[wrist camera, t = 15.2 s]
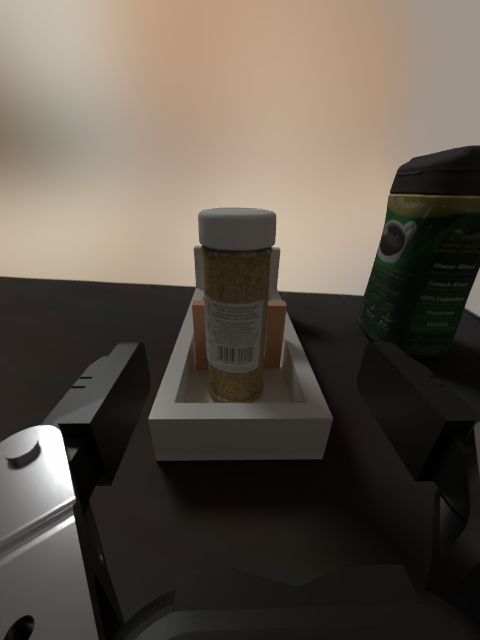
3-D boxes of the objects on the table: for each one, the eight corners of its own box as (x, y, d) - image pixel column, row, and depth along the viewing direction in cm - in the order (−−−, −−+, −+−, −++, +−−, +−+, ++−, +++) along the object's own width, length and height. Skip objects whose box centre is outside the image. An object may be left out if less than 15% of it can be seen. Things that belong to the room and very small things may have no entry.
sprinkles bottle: (268, 377, 22) (284, 208, 16) (253, 417, 18) (266, 214, 12) (220, 366, 24) (217, 205, 17) (196, 400, 20) (182, 209, 14)
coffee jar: (461, 364, 26) (575, 138, 17) (381, 361, 26) (455, 136, 17) (407, 320, 34) (466, 155, 26) (347, 318, 34) (386, 153, 26)
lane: (322, 459, 16) (352, 343, 12) (156, 460, 16) (133, 342, 12) (273, 309, 36) (278, 247, 32) (198, 309, 36) (195, 246, 32)
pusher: (279, 368, 23) (286, 306, 20) (196, 368, 23) (191, 305, 20) (268, 325, 30) (272, 275, 27) (204, 325, 30) (202, 274, 27)
